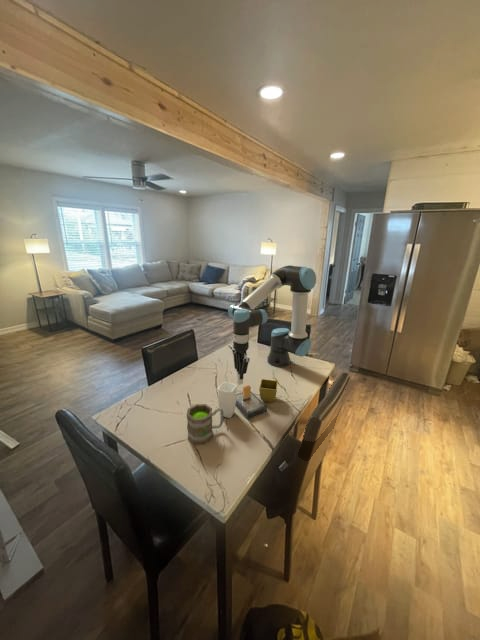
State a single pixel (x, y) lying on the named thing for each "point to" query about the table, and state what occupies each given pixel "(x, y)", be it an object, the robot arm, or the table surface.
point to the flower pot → (268, 390)
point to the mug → (201, 423)
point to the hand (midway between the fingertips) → (240, 383)
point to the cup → (227, 398)
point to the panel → (250, 405)
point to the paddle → (246, 392)
